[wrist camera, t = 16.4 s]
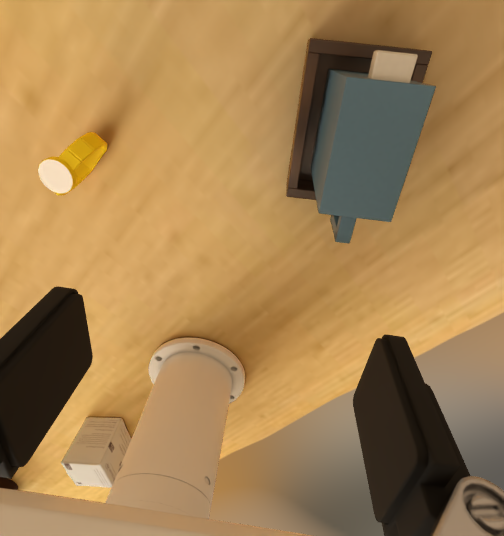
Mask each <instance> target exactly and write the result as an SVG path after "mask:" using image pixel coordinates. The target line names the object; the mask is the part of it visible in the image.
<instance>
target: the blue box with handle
mask: <svg viewBox="0 0 504 536" xmlns="http://www.w3.org/2000/svg"><path fill="white" fill-rule="evenodd" d="M417 57H418V56H417V54H409V53H400V52H390V51H381V50H376V51H374V53H373V57H372V61H371V65H370V70H369V73H364V72H355V71H346V70H337V69H328V74H327V80H326V85H325V91H324V96H323V102H322V107H321V113H320V118H319V124H318V129H317V135H316V140H315V146H314V151H313V157H312V162H311V173H312V179H313V184H314V190H315V195H316V201H317V207H318V212H319V213H320V214H329V215H331V218H330V221H331V224H332V228H333V232H334V237H335V241H336V242H342V243H350V240H351V237H352V233H353V229H354V226H355V222H356V218H362V219H370V220H378V221H387V222H391V220H392V217H393V214H394V211H395V208H396V205H397V202H398V199H399V196H400V193H401V190H402V187H403V184H404V181H405V178H406V175H407V172H408V169H409V166H410V163H411V160H412V157H413V154H414V151H415V148H416V145H417V142H418V139H419V136H420V133H421V130H422V127H423V124H424V121H425V118H426V115H427V112H428V109H429V106H430V103H431V100H432V97H433V94H434V91H435V88H436V86H433V85H428V84H424V83H420V82H416V81H411V77H412V74H413V71H414V67H415V64H416V60H417Z"/></svg>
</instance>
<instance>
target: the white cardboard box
mask: <svg viewBox="0 0 504 536" xmlns="http://www.w3.org/2000/svg"><path fill="white" fill-rule="evenodd" d="M130 441H131V437H130V435H129V433H128V431H127V428H126V426H125V424H124V421H123V419H122V418H106V417H87V418H86V420H85V421H84V423H83V425H82V427H81V428H80V430H79V432H78V434H77V435H76V437H75V439H74V441H73V442H72V444H71V446H70V447H69V449H68V451H67V453H66V454H65V456H64V458H63V460H62V461H61V464H62V465H63V467H64V468H65V470H66V472H67V474H68V475H69V477H70V478H71V479H72V480H73V482H74V483H75V485H77V486H96V487H112V485H113V483H114V480H115V478H116V476H117V473H118V471H119V468H120V466H121V463H122V461H123V458H124V456H125V454H126V451H127V449H128V446H129V444H130Z"/></svg>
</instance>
